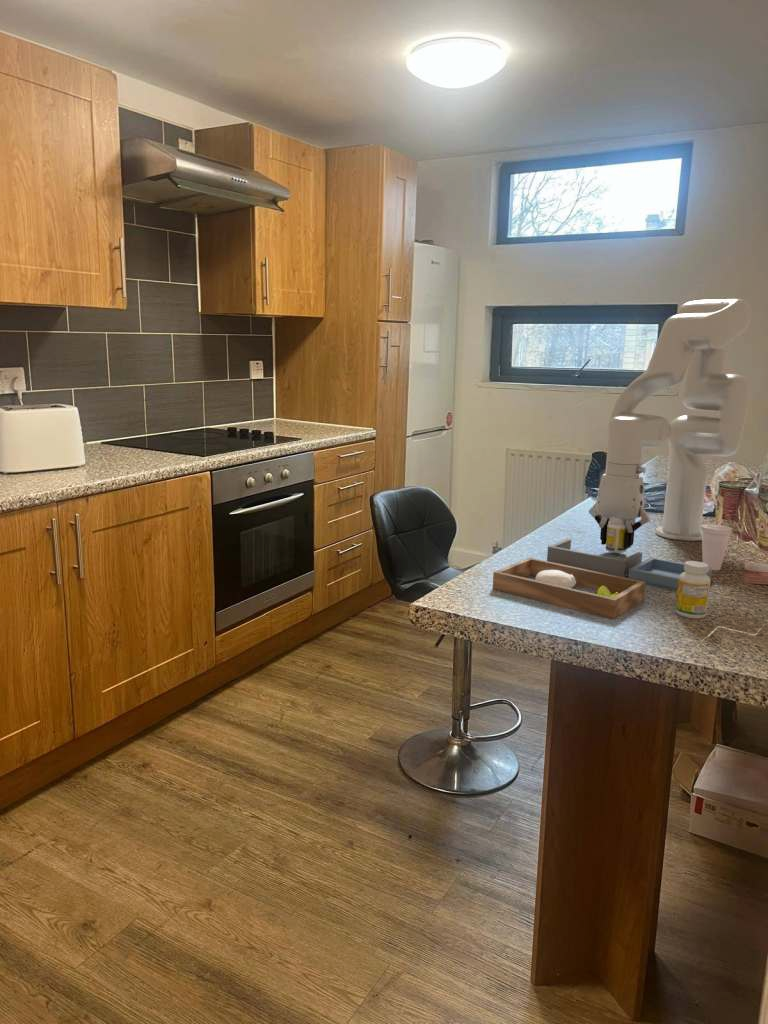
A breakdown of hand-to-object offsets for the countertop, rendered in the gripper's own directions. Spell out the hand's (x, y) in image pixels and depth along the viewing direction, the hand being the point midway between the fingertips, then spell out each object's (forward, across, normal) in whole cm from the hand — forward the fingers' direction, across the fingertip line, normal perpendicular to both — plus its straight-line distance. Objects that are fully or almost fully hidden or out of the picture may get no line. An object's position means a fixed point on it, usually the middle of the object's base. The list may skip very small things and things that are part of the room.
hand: (616, 544), depth 175 cm
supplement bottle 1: (+2, 0, 0) cm, 2 cm away
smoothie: (+3, -21, -3) cm, 21 cm away
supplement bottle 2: (+2, -27, +32) cm, 41 cm away
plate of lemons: (+2, -13, +34) cm, 36 cm away
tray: (+2, -17, +12) cm, 21 cm away
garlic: (+2, -1, +35) cm, 35 cm away
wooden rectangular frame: (+2, -5, +36) cm, 37 cm away
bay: (+2, 0, +12) cm, 13 cm away
